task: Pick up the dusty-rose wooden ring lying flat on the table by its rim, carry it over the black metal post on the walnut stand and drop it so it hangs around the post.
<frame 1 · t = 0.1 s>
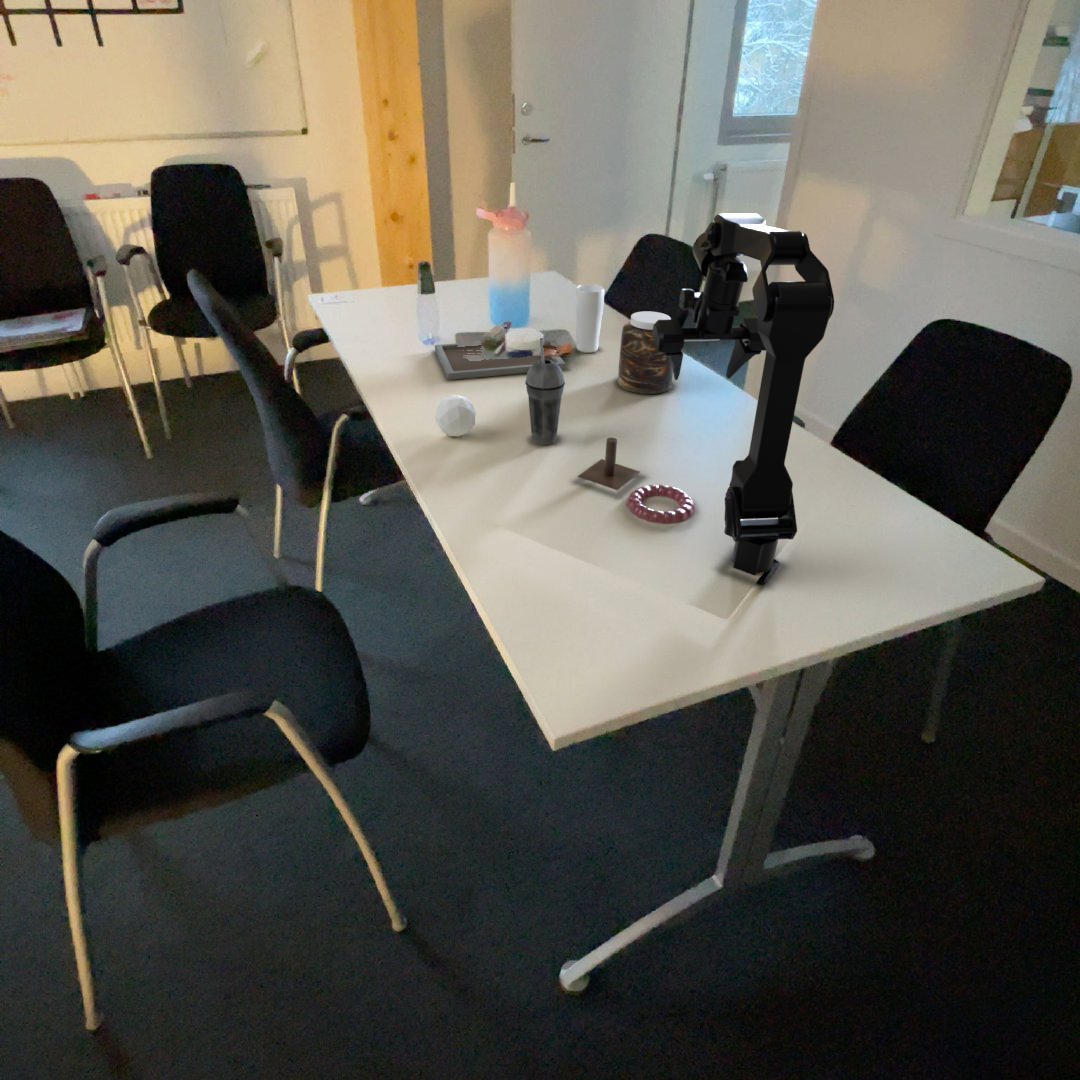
hand: (701, 377, 128), 15 cm above the table, tool pointing down, fingers open, 9 cm apart
gray tray: (503, 360, 177), on the table
geometric ball: (456, 434, 144), on the table
jar: (644, 385, 165), on the table
ring: (660, 505, 120), point 1 cm above the table
beverage cup: (543, 440, 142), on the table
drinking glass: (587, 350, 183), on the table
stand: (608, 479, 129), on the table
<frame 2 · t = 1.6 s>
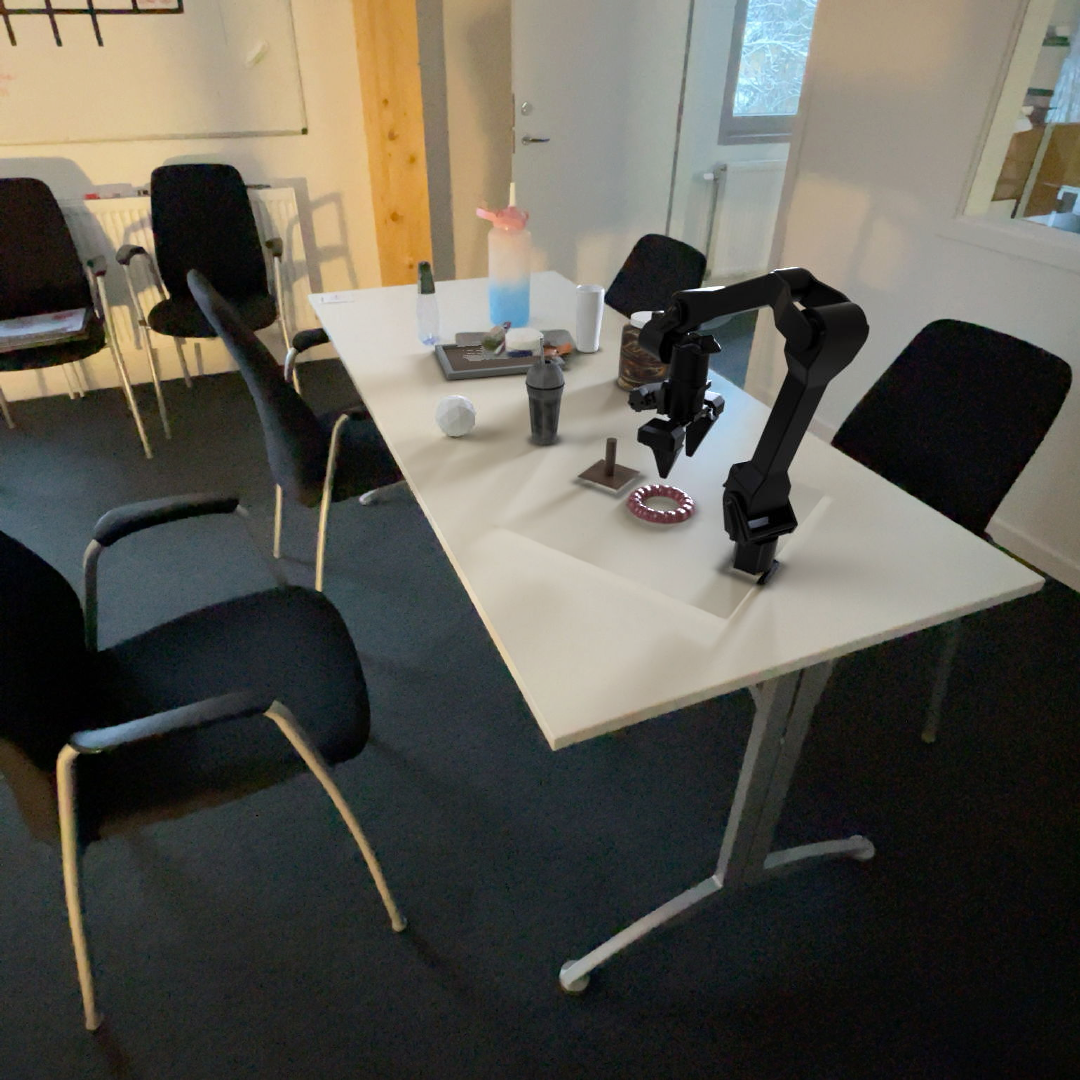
hand: (676, 466, 120), 6 cm above the table, tool pointing down, fingers open, 9 cm apart
nothing on the table moved.
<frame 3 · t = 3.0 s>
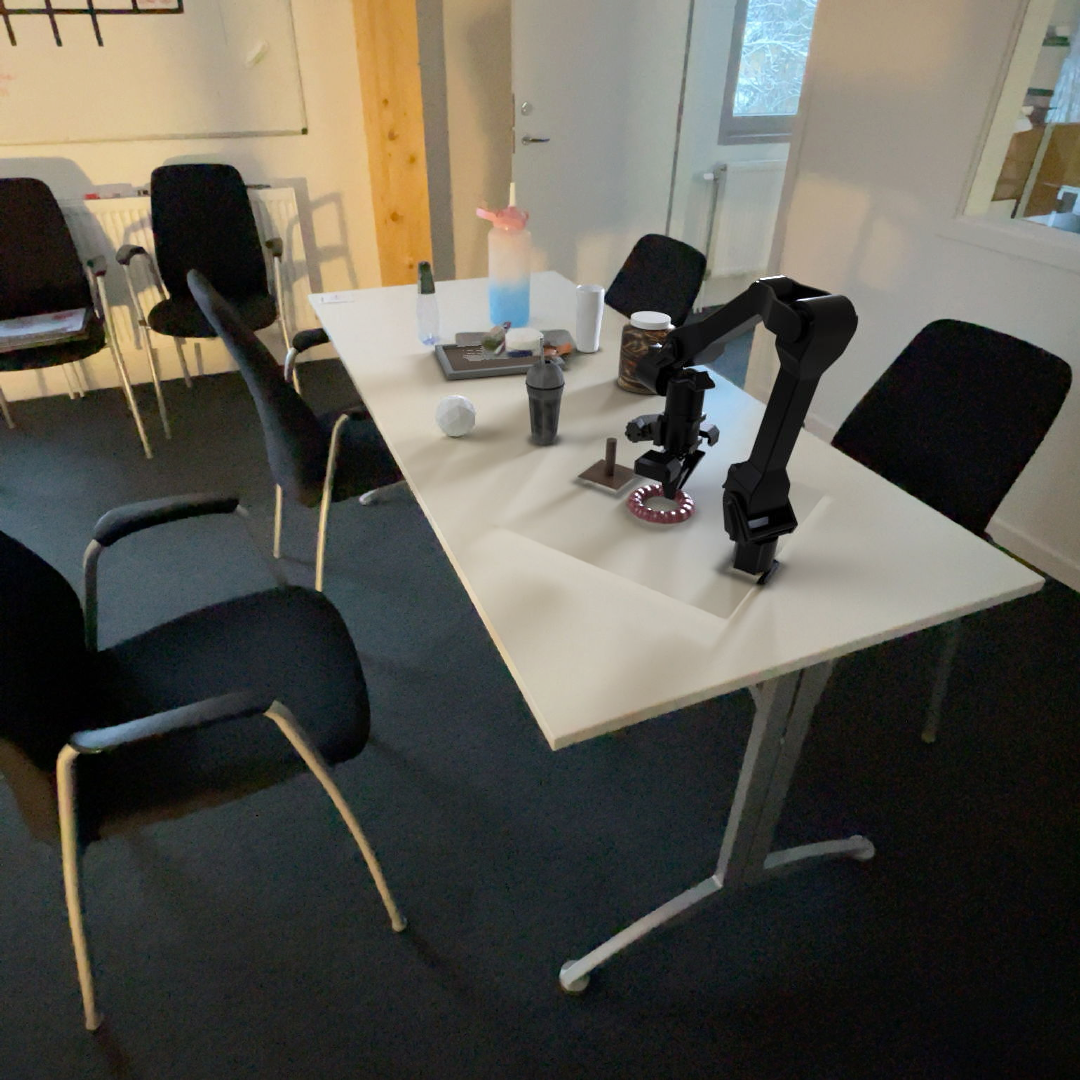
hand: (672, 495, 123), 1 cm above the table, tool pointing down, fingers closed on ring, 2 cm apart
ring: (660, 505, 120), point 1 cm above the table, touching gripper
everything else where it was.
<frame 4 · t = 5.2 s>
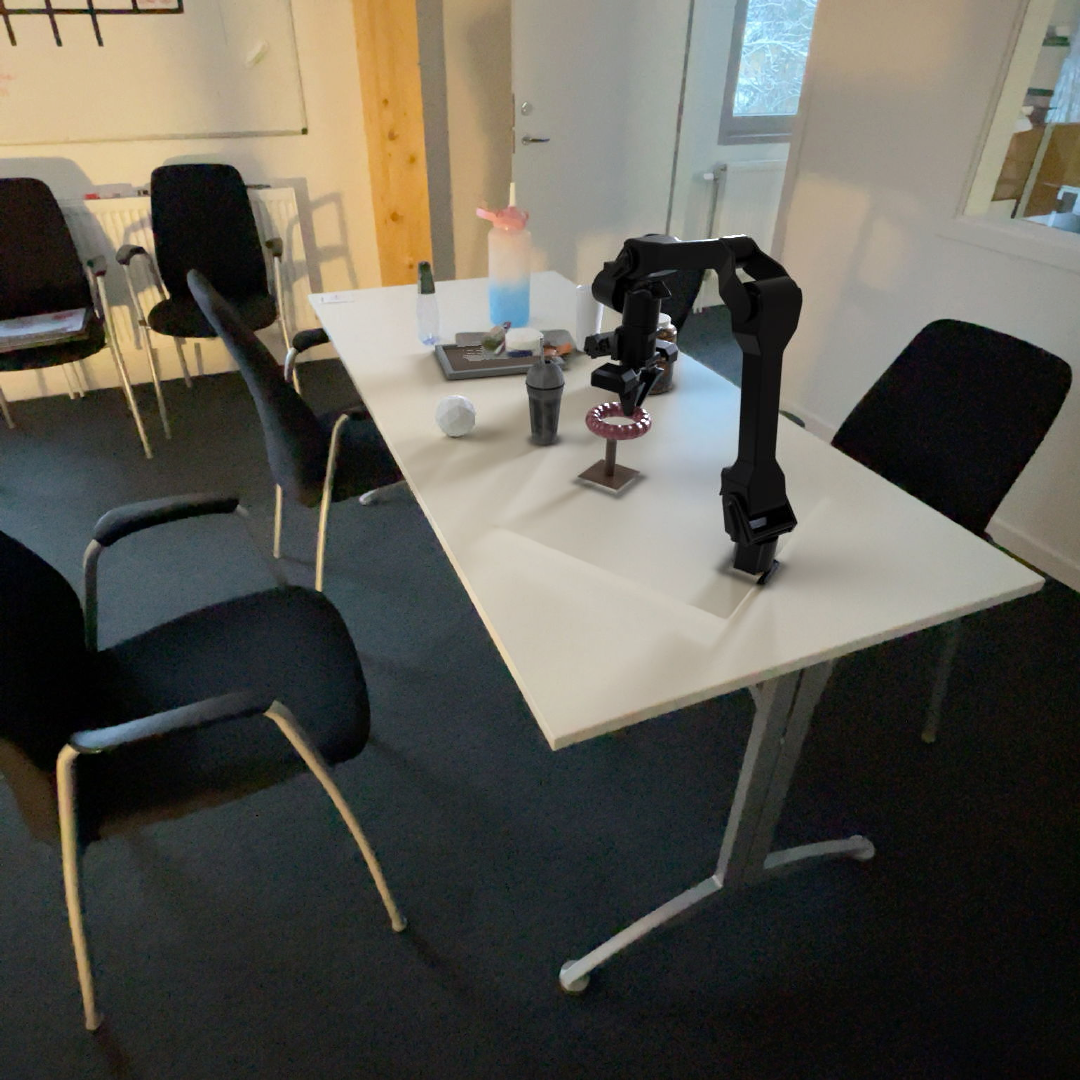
hand: (631, 413, 125), 11 cm above the table, tool pointing down, fingers closed on ring, 2 cm apart
ring: (618, 420, 122), point 12 cm above the table, touching gripper
everything else where it was.
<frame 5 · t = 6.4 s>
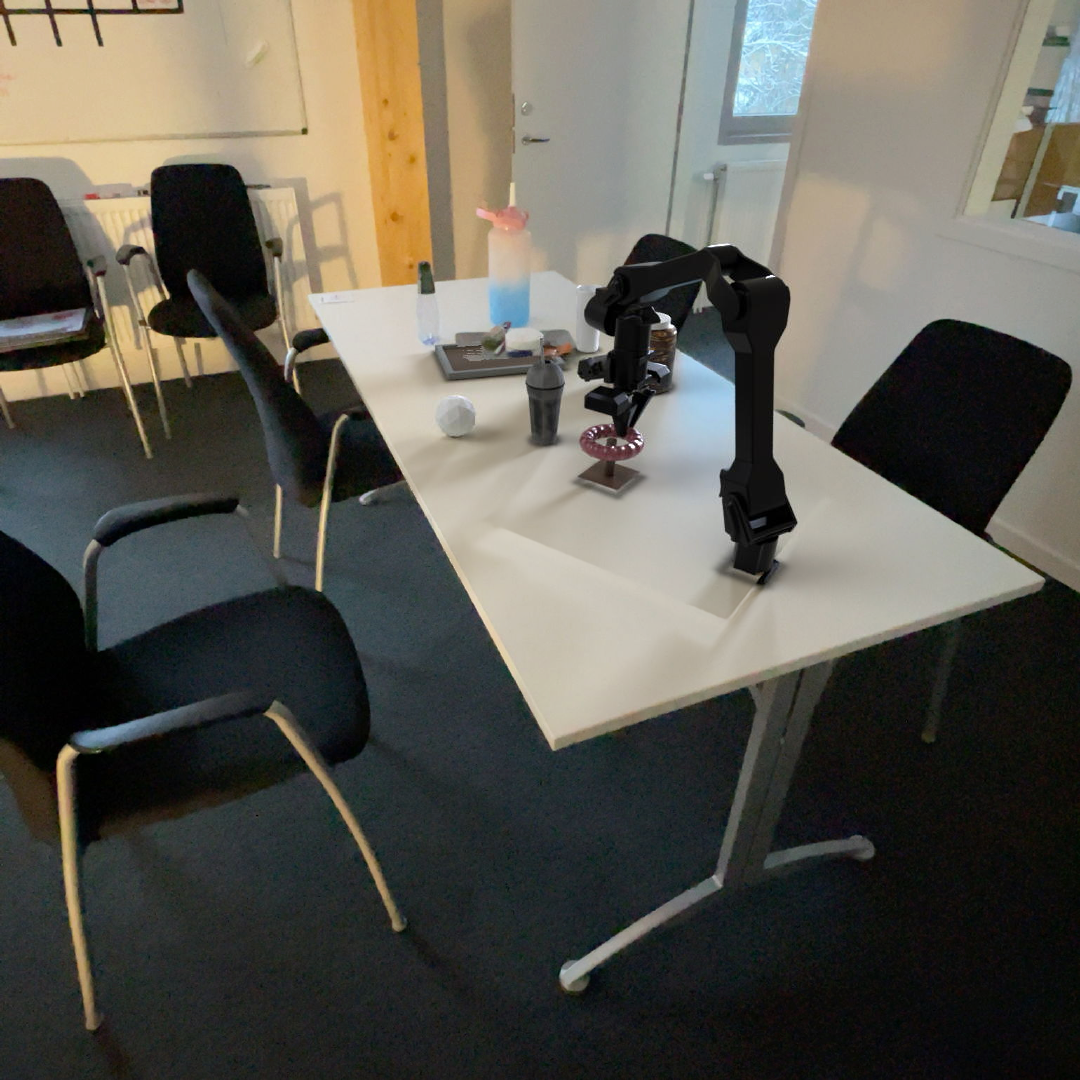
hand: (624, 433, 128), 7 cm above the table, tool pointing down, fingers closed on ring, 2 cm apart
ring: (611, 441, 125), point 7 cm above the table, touching gripper
everything else where it was.
when the fingers open (5 cm above the table, at t = 7.3 s): ring drops 3 cm, resting on stand.
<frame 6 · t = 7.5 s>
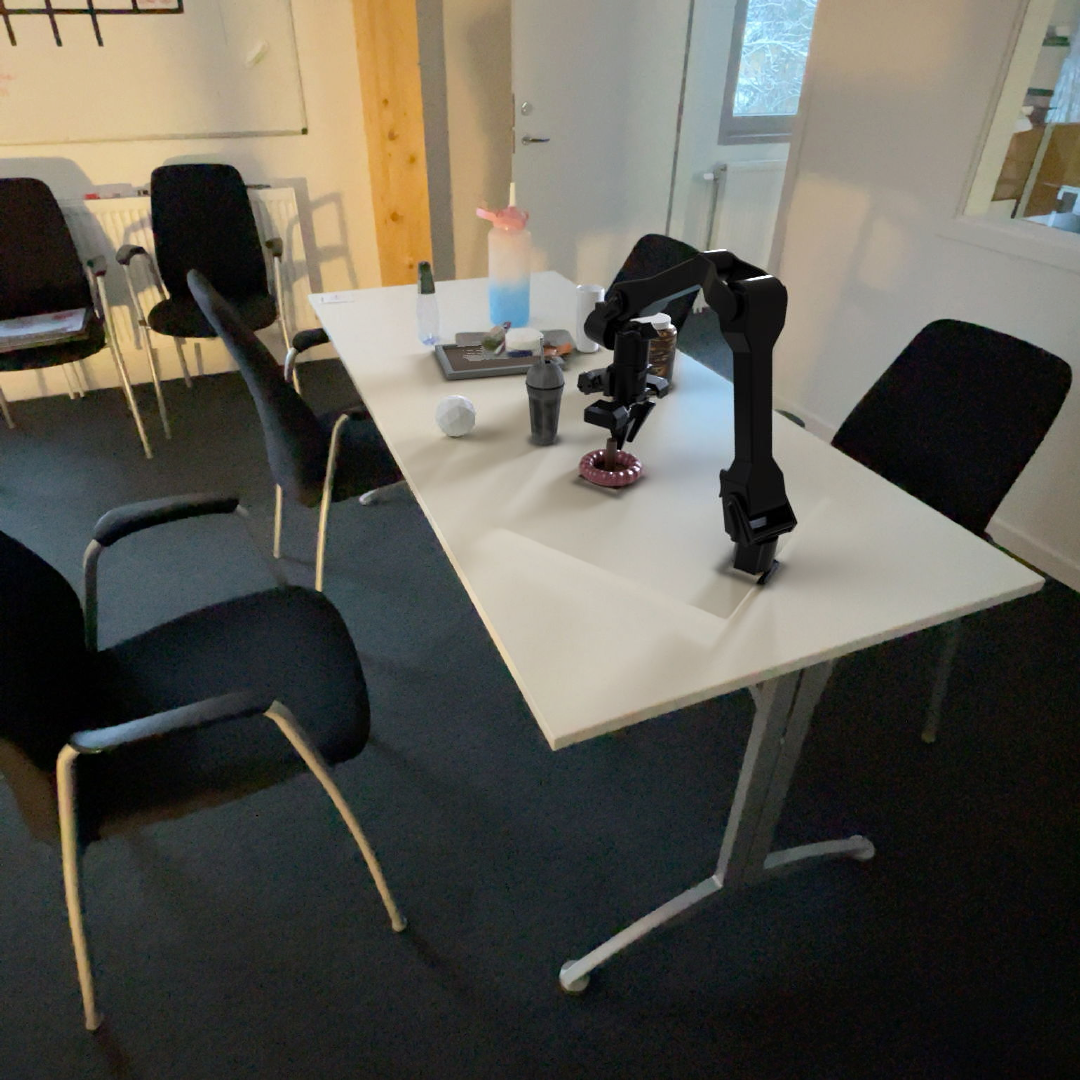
hand: (623, 445, 129), 5 cm above the table, tool pointing down, fingers open, 3 cm apart
ring: (610, 467, 128), point 2 cm above the table, touching stand
everything else where it was.
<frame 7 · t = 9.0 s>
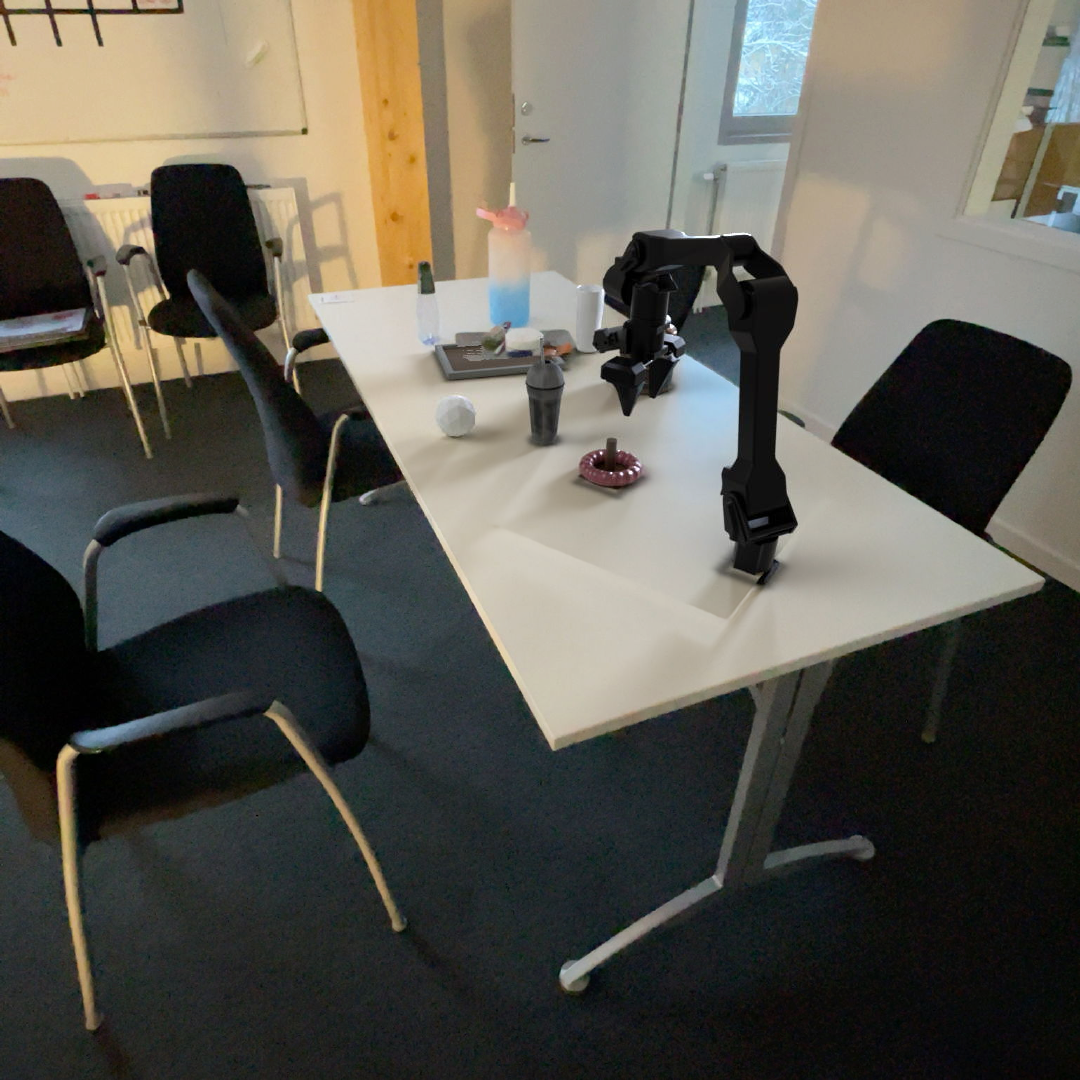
hand: (639, 406, 126), 12 cm above the table, tool pointing down, fingers open, 9 cm apart
nothing on the table moved.
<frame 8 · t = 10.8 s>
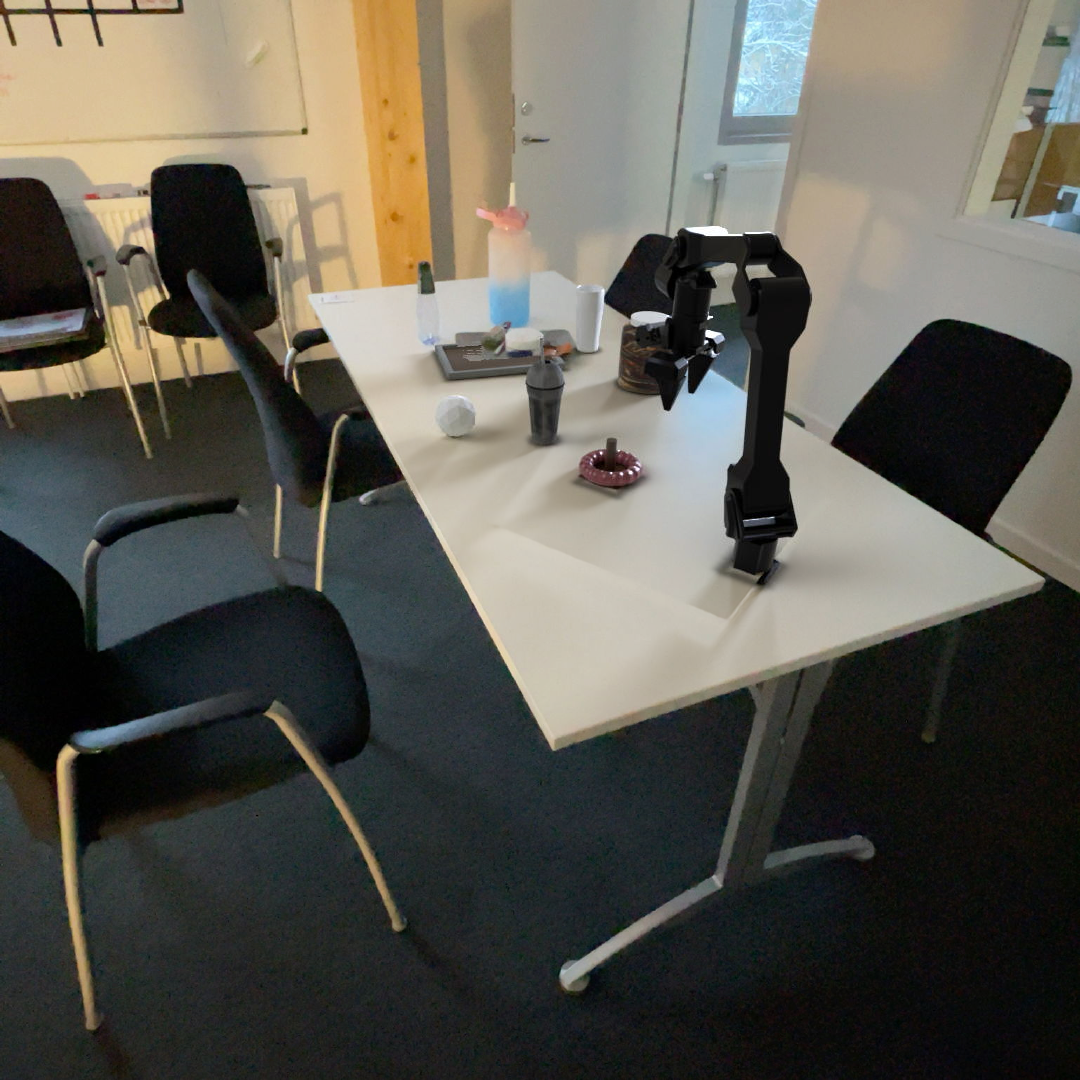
hand: (679, 401, 128), 12 cm above the table, tool pointing down, fingers open, 9 cm apart
nothing on the table moved.
at the end: ring 0.3 cm from the stand (horizontally); ring point 2.4 cm above the table; the gripper is holding nothing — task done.
